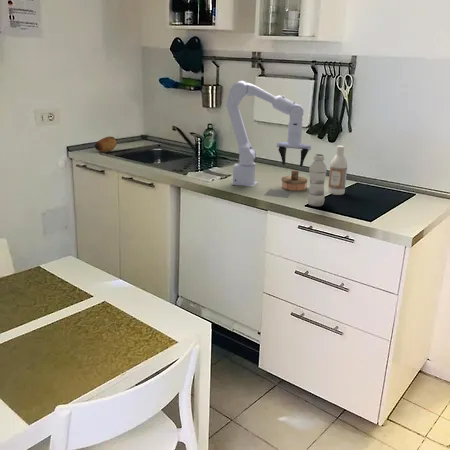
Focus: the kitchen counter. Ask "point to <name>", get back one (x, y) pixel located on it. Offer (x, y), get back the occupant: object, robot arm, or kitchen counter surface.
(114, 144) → the potato
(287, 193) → the mat
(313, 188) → the plastic bottle
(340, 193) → the bath foam
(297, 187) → the bowl
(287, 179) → the lid
